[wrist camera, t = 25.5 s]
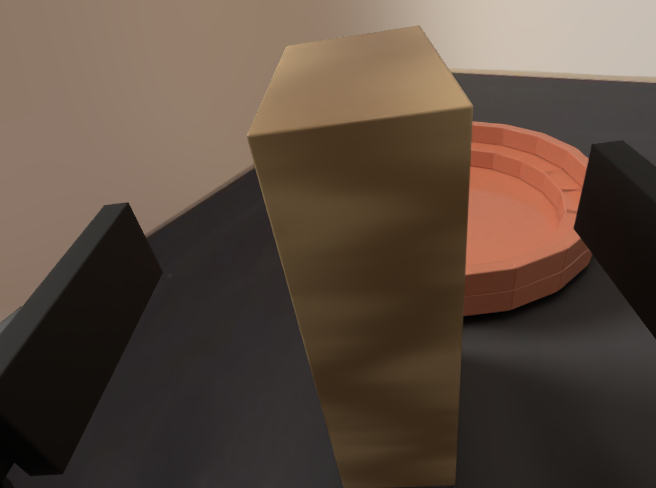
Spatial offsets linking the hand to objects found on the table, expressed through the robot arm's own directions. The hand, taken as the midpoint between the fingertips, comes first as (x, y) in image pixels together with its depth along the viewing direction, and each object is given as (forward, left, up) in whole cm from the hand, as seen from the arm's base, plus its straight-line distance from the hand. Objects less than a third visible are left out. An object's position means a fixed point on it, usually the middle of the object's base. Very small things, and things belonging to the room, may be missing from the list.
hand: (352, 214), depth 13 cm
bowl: (+1, +12, -9) cm, 15 cm away
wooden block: (+1, -1, -9) cm, 9 cm away
